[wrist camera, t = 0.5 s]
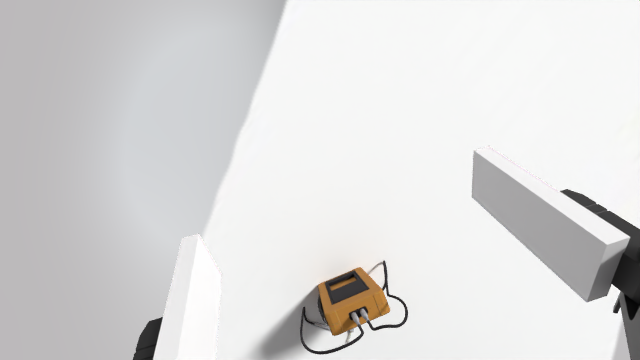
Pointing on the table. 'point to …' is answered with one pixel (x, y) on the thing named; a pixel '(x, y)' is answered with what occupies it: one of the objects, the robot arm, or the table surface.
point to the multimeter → (351, 305)
